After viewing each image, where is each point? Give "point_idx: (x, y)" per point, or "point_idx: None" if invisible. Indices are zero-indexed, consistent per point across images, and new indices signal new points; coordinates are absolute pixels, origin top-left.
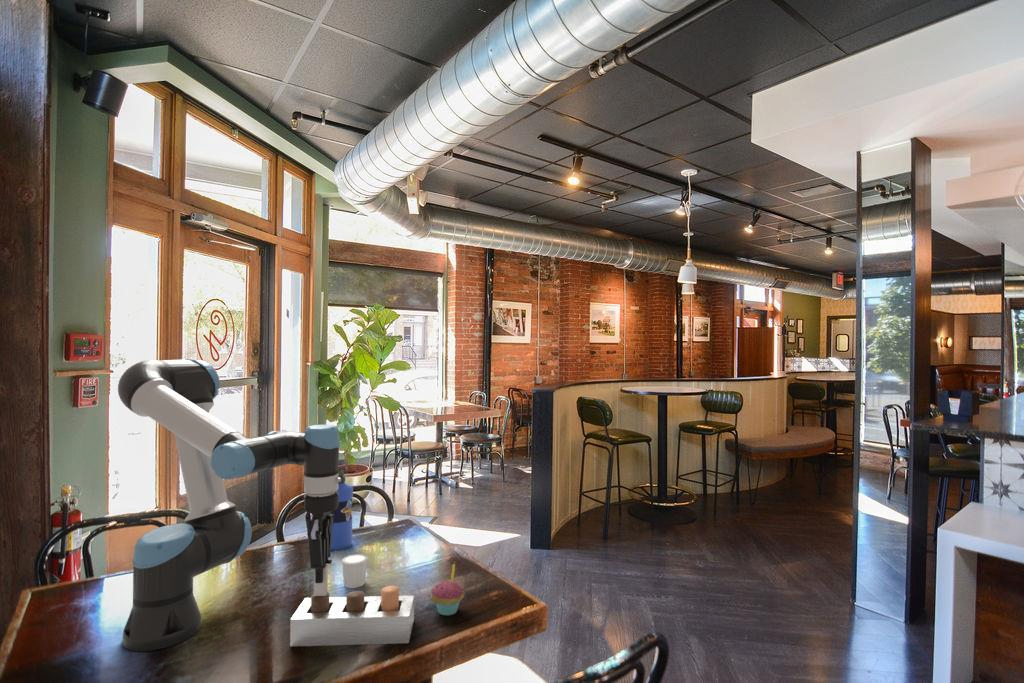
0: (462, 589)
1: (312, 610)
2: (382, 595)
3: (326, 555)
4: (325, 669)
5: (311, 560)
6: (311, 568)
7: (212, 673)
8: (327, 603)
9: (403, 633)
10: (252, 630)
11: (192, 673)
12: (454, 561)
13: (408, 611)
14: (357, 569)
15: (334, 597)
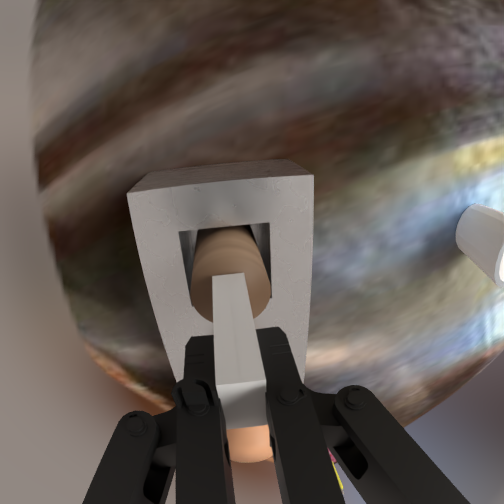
0: None
1: (198, 250)
2: (234, 440)
3: (277, 473)
4: (80, 299)
5: (101, 476)
6: (122, 420)
7: (34, 48)
8: None
9: None
10: (241, 15)
11: (39, 7)
12: (343, 493)
13: None
14: (483, 265)
15: (309, 286)
